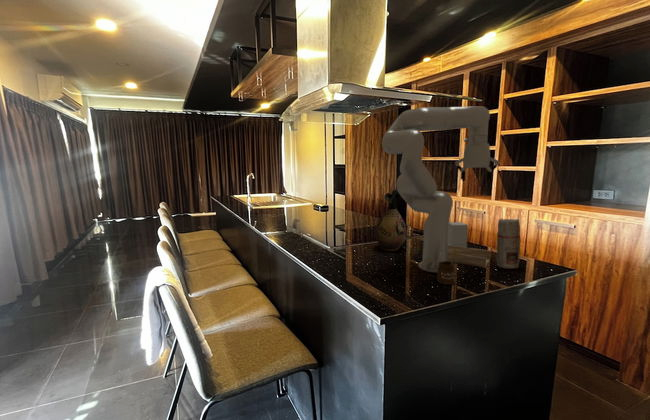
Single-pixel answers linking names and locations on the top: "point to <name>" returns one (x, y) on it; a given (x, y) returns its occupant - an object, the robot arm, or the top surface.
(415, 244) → the top surface
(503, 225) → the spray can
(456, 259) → the u-rest
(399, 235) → the ceramic jug
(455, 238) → the supplement box
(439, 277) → the utensil holder
